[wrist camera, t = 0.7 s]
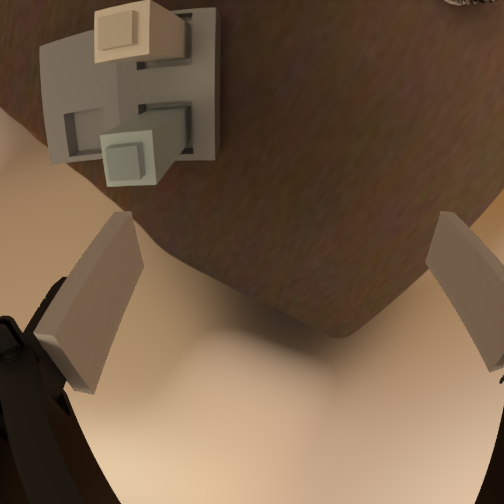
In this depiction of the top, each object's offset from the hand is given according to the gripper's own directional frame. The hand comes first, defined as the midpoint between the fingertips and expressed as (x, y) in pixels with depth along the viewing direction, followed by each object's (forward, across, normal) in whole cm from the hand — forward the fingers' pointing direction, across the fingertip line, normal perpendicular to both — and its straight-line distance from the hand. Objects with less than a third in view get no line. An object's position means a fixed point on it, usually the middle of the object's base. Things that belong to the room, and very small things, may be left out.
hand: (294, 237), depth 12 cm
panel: (+25, -16, +6) cm, 31 cm away
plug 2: (+22, -10, +1) cm, 25 cm away
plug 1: (+22, -10, +10) cm, 27 cm away
